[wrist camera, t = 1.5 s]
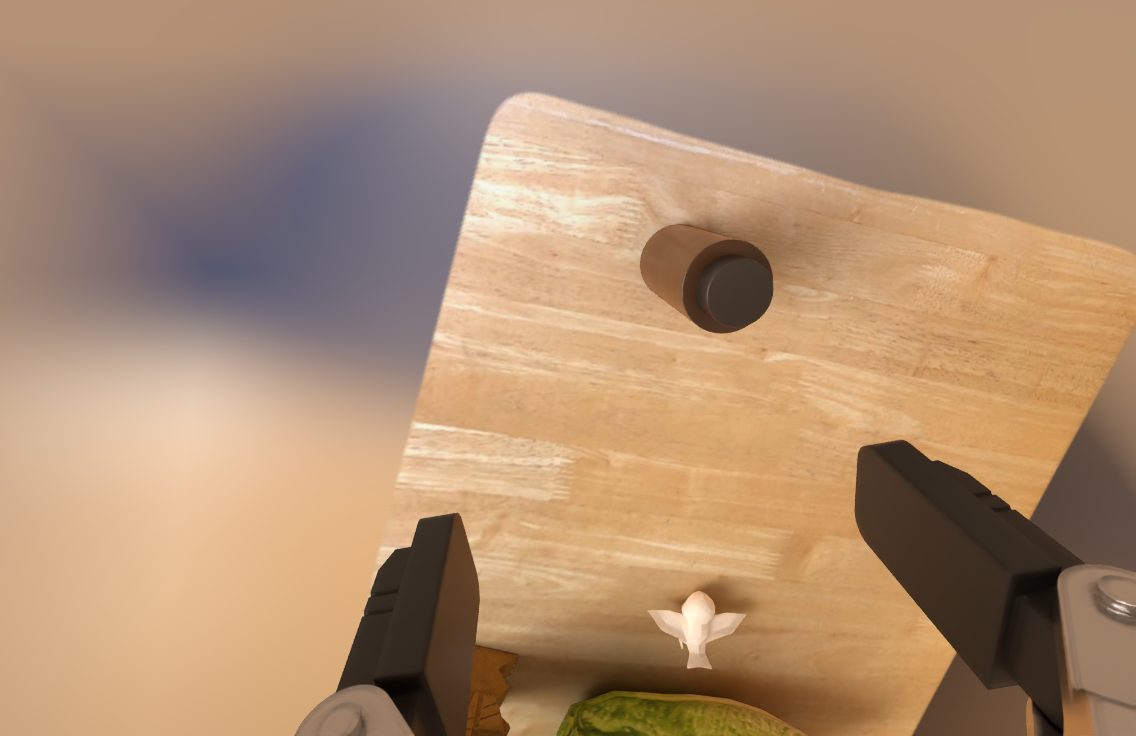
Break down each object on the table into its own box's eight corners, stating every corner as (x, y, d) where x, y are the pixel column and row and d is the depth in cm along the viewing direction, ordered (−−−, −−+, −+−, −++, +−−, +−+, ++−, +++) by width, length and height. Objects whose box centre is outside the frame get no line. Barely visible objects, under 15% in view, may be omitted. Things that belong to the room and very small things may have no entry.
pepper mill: (625, 260, 35) (671, 292, 25) (681, 208, 34) (751, 221, 25) (670, 312, 36) (730, 361, 27) (725, 264, 35) (807, 296, 26)
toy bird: (749, 585, 43) (770, 648, 40) (728, 614, 46) (745, 675, 43) (650, 580, 42) (662, 644, 38) (634, 611, 45) (644, 673, 41)
